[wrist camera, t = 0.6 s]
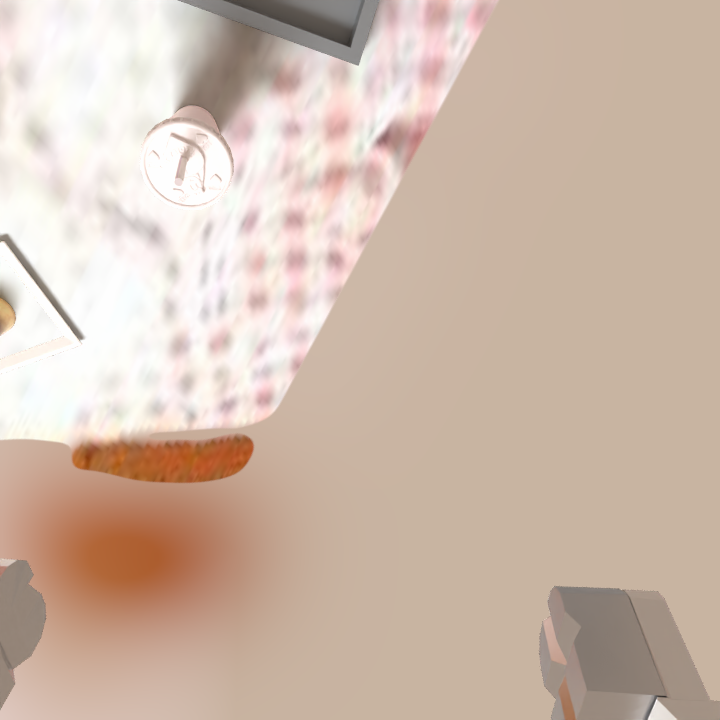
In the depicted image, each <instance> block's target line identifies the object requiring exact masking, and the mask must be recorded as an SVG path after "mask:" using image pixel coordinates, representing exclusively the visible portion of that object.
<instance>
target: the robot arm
mask: <svg viewBox="0 0 720 720" xmlns="http://www.w3.org/2000/svg"><path fill="white" fill-rule="evenodd" d="M32 577H33V573H32V570H31V568H30V566H29V564H28V562H27V561H24V560H12V559H0V709H1V708H2V706H3V704H4V702H5V701H6V699H7V697H8V695H9V694H10V692H11V690H12V688H13V687H14V685H15V678H14V671H13V669H14V668H15V667H17V666H18V665H20V664H21V663H22V662H23V661H25V660H26V659H28V658H29V657H30V656H31V655H32V653H33V651H34V650H35V647H36V646H37V644H38V642H39V640H40V639H41V635H42V632H43V628H44V623H45V620H46V609H45V602H44V600H43V597H42V595H41V594H40V593H39V592H38V591H37V590H35V589H34V588H33V587H32V586H30V585H29V584H28V583H29V582H30V580H31V578H32ZM548 607H549V610H550V615H551V616H549V617H548V618H547V619H545V620H544V621H543V622H542V627H541V633H540V651H539V652H540V653H539V655H540V664H541V671H542V676H543V681H544V686H545V687H546V689H547V690H548V691H549V692H550V693H551V694H552V695H553V697H554V698H555V699H556V702H555V705H554V708H553V712H552V715H551V719H552V720H720V701H712V700H710V698H709V696H708V694H707V692H706V689H705V688H704V685H703V683H702V681H701V678H700V676H699V674H698V672H697V670H696V668H695V665H694V663H693V661H692V659H691V656H690V654H689V652H688V650H687V647H686V645H685V643H684V641H683V639H682V637H681V634H680V632H679V630H678V627H677V625H676V623H675V621H674V619H673V617H672V614H671V612H670V610H669V608H668V605H667V603H666V601H665V599H664V597H663V596H662V595H661V594H660V593H659V592H658V591H641V590H620V589H615V588H614V589H613V588H588V587H562V586H561V587H560V586H554V587H553V588H552V590H551V591H550V595H549V598H548Z"/></svg>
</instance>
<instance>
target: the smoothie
mask: <svg viewBox="0 0 720 720" xmlns="http://www.w3.org/2000/svg"><path fill="white" fill-rule="evenodd" d="M140 167H141V172H142V175H143V178H144V180H145V182H146V184H147V186H148V187H149V188H150V190H151V191H152V192H153V193H154V194H155V195H156V196H157V197H158V198H159V199H161V200H162V201H163V202H165V203H167V204H169V205H171V206H173V207H176V208H180V209H185V210H198V209H203V208H206V207H209V206H211V205H213V204H215V203H216V202H218V201H219V200H220V199H221V198H222V197H223V196H224V195H225V193H226V192H227V190H228V188H229V186H230V184H231V180H232V176H233V172H234V166H233V157H232V154H231V150H230V148H229V146H228V144H227V142H226V141H225V139H224V137H223V136H222V135H221V134H220V132H219V130H218V127H217V124H216V121H215V119H214V118H213V116H212V115H211V114H210V113H209V112H208V111H207V110H205V109H204V108H202V107H199V106H195V105H189V106H185V107H182V108H181V109H179V110H178V111H177V112H176V113H175V114H174V115H173V116H172V117H171V118H170V119H166V120H164V121H162V122H161V123H159V124H157V125H155V126H154V127H153V128H152V129H151V131H150V132H149V133H148V134H147V136H146V138H145V140H144V142H143V144H142V149H141V154H140Z"/></svg>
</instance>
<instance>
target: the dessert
mask: <svg viewBox="0 0 720 720" xmlns="http://www.w3.org/2000/svg"><path fill="white" fill-rule="evenodd" d="M0 256H2V257H4V259H5V260H6V261H7V263H8V264H9V265H10V266H11V268H12V269H13V270H14V272H15V273H16V274H17V276H18V277H19V278H20V279H21V281H22V282H23V283H24V285H25V286H26V287H27V288H28V290H29V291H30V292H31V294H32V295H33V296H34V298H35V299H36V300H37V301H38V303H39V304H40V305H41V307H42V308H43V309H44V310H45V312H46V313H47V314H48V316H49V317H50V318H51V320H52V321H53V322H54V323H55V325H56V326H57V327H58V329H59V330H60V331H61V332H62V334H63V337H60V338H57V339H54V340H52V341H49V342H46V343H43V344H41V345H38V346H35V347H32V348H29V349H27V350H24V351H21V352H18V353H15V354H13V355H10V356H7V357H4V358H2V359H0V374H2V373H5V372H7V371H10V370H13V369H16V368H19V367H21V366H24V365H27V364H30V363H33V362H36V361H38V360H41V359H44V358H47V357H50V356H53V355H55V354H58V353H61V352H64V351H67V350H69V349H72V348H75V347H78V346H81V345H82V343H81V342H80V341H79V339H78V338H77V337H76V335H75V334H74V333H73V331H72V330H71V329H70V327H69V326H68V325H67V323H66V322H65V321H64V319H63V318H62V317H61V315H60V314H59V313H58V311H57V310H56V309H55V307H54V306H53V305H52V303H51V302H50V301H49V299H48V298H47V297H46V295H45V294H44V293H43V291H42V290H41V289H40V287H39V286H38V285H37V283H36V282H35V281H34V279H33V278H32V277H31V275H30V274H29V273H28V271H27V270H26V269H25V268H24V266H23V265H22V264H21V262H20V261H19V260H18V258H17V257H16V256H15V254H14V253H13V252H12V250H11V249H10V248H9V246H8V245H7V244H6V242H5V241H1V242H0ZM15 320H16V317H15V313H14V310H13V309H12V307H11V306H10V305H9V304H8V303H7V302H6V301H5V300H3V299H2V298H0V336H1V335H3V334H4V333H5V332H7V331H9V330H10V329H11V328H12V327H13V326H14V324H15Z"/></svg>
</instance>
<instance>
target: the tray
mask: <svg viewBox="0 0 720 720" xmlns="http://www.w3.org/2000/svg"><path fill="white" fill-rule="evenodd" d="M179 1H181V2H184V3H187V4H190V5H192V6H195V7H198V8H201V9H203V10H206V11H209V12H212V13H214V14H217V15H220V16H223V17H225V18H228V19H231V20H234V21H237V22H239V23H242V24H245V25H248V26H250V27H253V28H256V29H259V30H261V31H264V32H267V33H270V34H272V35H275V36H278V37H281V38H283V39H286V40H289V41H292V42H294V43H297V44H300V45H303V46H305V47H308V48H311V49H314V50H316V51H319V52H322V53H325V54H327V55H330V56H333V57H336V58H339V59H341V60H344V61H347V62H350V63H352V64H355V65H358V66H359V62H360V59H361V56H362V53H363V50H364V47H365V44H366V40H367V37H368V34H369V31H370V28H371V25H372V21H373V18H374V15H375V12H376V9H377V6H378V2H379V0H179Z"/></svg>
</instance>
